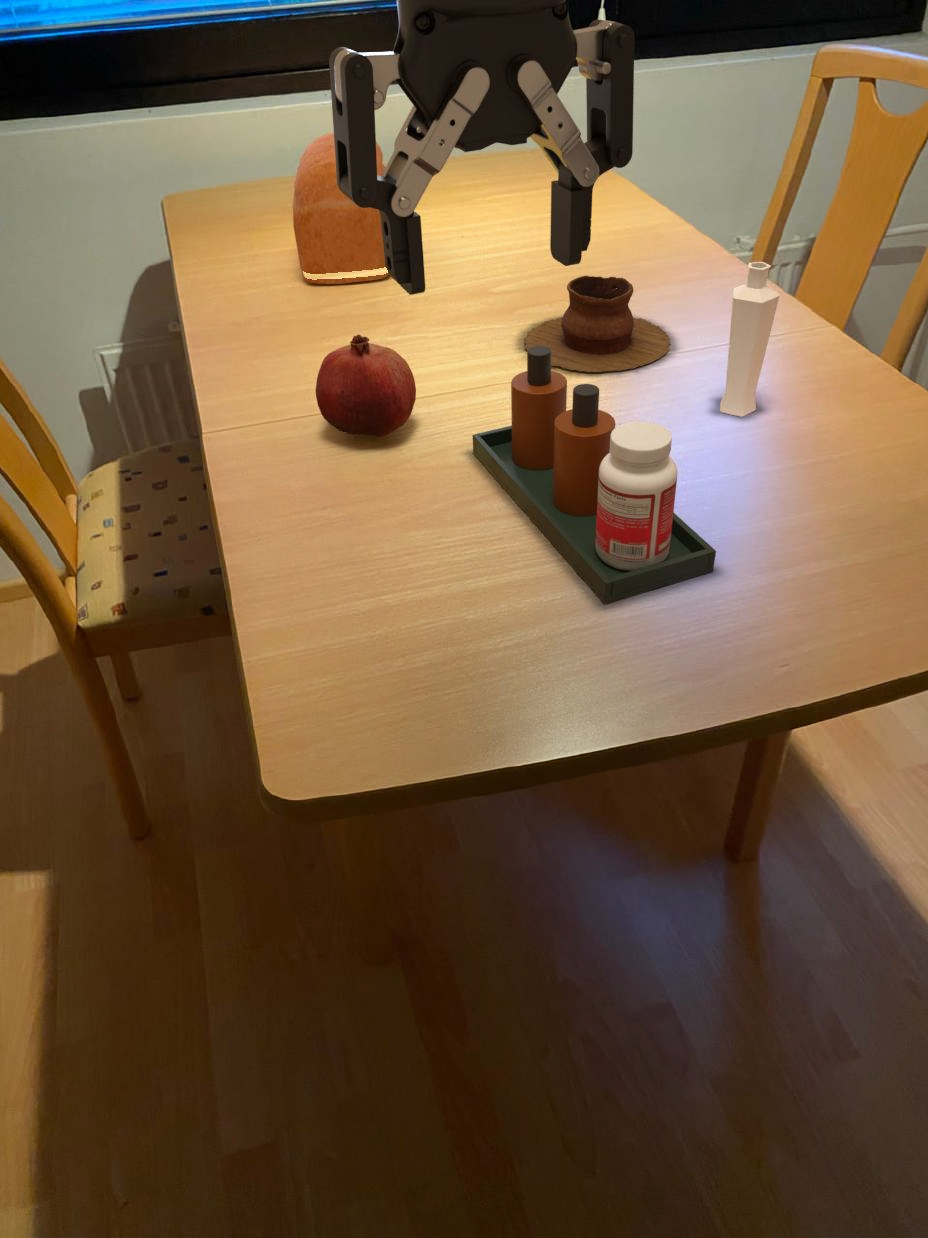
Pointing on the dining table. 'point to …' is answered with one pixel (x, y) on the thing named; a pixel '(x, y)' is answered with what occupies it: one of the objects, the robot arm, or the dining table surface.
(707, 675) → the dining table surface
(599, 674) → the dining table surface
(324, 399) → the fruit
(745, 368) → the white faceted vase
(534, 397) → the amber bottle far
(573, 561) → the tray
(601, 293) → the ceramic pot
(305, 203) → the bread
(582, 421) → the amber bottle middle
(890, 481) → the dining table surface
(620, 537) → the pill bottle
